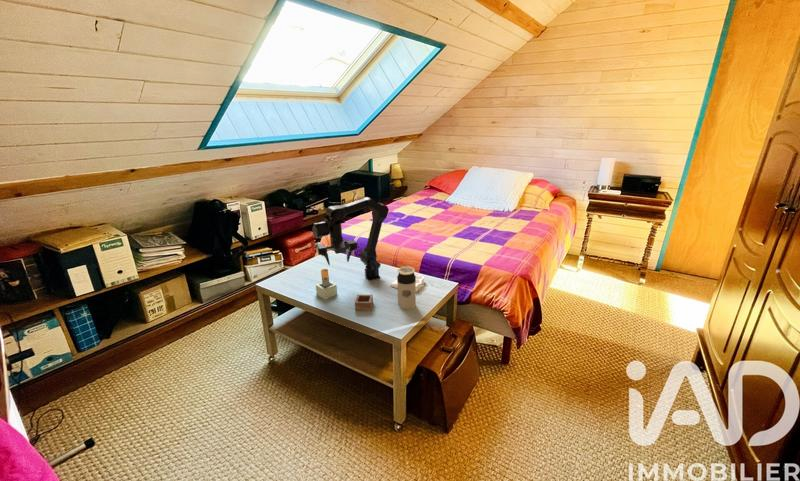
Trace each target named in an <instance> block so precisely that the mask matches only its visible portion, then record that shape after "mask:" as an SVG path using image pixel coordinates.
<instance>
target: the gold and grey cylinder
mask: <svg viewBox="0 0 800 481" xmlns="http://www.w3.org/2000/svg"><path fill="white" fill-rule="evenodd" d="M320 274H321V283H322V284H323V288H327V287H329V286H330V284H329V281H330V278H329V270H328V269H327V268H322V269H321V270H320Z"/></svg>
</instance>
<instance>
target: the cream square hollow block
mask: <svg viewBox="0 0 800 481" xmlns="http://www.w3.org/2000/svg"><path fill="white" fill-rule="evenodd" d="M329 284H330V286H329V287H327V288H323V284H322V282H320V283H317V284H315V290H316V295H317V296H319V297H320V298H321V299H323V300H327V299H330V298H331V297H334V296H336V295H338V286H337V284H336V283H334V282H332V281H331V280H329Z"/></svg>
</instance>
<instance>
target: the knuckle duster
mask: <svg viewBox="0 0 800 481" xmlns="http://www.w3.org/2000/svg"><path fill="white" fill-rule="evenodd" d="M414 275H415V274H414ZM415 276H416V293H417V292H418V291H419V290H421V289H422V288H423V287H425V285H424V284H425V277H424V276H423V275H419V274H417V275H415ZM389 286H390V287H392V288H395V289H398V287H397V279H396V280H395V281H393V282H392V283H390V284H389ZM421 287H422V288H421Z"/></svg>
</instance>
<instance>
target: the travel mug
mask: <svg viewBox="0 0 800 481" xmlns="http://www.w3.org/2000/svg"><path fill="white" fill-rule="evenodd" d="M415 272H416V269H415V268H414V267H412V266H401V267H399V268H398V269H397V273H398V275H397V276H396V277H397V278H396V280H397V287H398V288H397V306H398V307H399V308H400V309H401V310H402V309H403V310H411V309H413V308H416V303H417V302H416V299H417V297H416V293H417V292H416V276H415Z"/></svg>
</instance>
